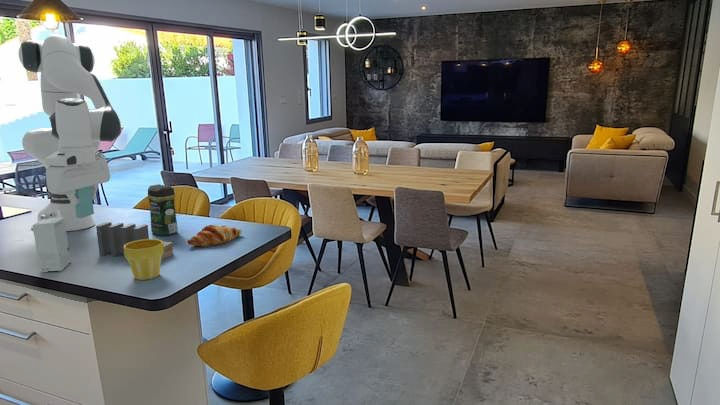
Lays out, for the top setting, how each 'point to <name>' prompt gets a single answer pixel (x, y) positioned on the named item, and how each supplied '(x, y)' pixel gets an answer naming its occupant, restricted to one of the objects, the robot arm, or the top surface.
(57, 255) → the skincare box
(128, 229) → the domino
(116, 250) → the domino
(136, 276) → the plant pot
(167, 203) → the coffee jar
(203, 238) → the croissant
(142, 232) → the domino
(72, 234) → the top surface
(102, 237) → the domino
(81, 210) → the domino
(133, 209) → the top surface
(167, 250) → the end block
